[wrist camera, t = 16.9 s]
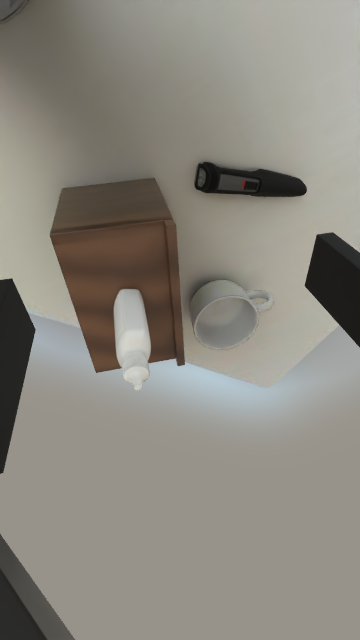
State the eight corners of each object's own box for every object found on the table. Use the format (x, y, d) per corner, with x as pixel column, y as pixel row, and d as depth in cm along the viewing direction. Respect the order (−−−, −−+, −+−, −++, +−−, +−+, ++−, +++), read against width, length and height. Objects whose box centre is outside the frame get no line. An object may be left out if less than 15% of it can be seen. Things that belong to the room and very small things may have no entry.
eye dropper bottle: (99, 316, 38) (100, 399, 29) (125, 281, 35) (134, 359, 26) (131, 329, 40) (141, 411, 31) (157, 297, 38) (176, 375, 29)
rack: (61, 188, 41) (47, 241, 29) (154, 177, 43) (176, 224, 31) (96, 310, 54) (95, 381, 42) (166, 299, 55) (184, 365, 44)
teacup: (189, 327, 60) (199, 357, 54) (179, 279, 53) (189, 308, 47) (259, 308, 61) (277, 336, 55) (259, 259, 54) (279, 285, 48)
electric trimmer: (291, 198, 48) (301, 206, 46) (193, 188, 44) (199, 196, 42) (300, 172, 46) (312, 178, 44) (198, 159, 42) (204, 165, 40)
